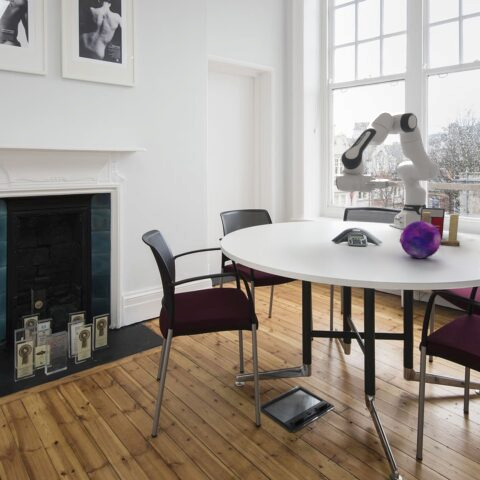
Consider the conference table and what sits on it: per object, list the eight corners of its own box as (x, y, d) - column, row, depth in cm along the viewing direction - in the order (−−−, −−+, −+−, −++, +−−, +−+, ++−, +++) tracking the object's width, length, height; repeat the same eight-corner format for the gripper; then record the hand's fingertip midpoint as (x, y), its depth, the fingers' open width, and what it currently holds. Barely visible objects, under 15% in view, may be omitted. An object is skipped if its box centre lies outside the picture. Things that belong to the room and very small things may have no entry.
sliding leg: (418, 239, 211) (420, 212, 209) (419, 237, 215) (421, 211, 213) (429, 240, 209) (432, 213, 207) (430, 238, 213) (432, 212, 211)
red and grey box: (419, 236, 230) (421, 208, 227) (419, 235, 233) (422, 207, 231) (442, 238, 225) (444, 209, 222) (442, 237, 228) (445, 208, 226)
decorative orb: (413, 262, 169) (416, 224, 166) (392, 255, 183) (394, 219, 181) (447, 261, 172) (450, 223, 170) (423, 253, 187) (426, 218, 184)
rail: (399, 242, 214) (399, 238, 213) (401, 240, 220) (401, 236, 220) (459, 246, 203) (459, 243, 203) (458, 243, 209) (459, 240, 209)
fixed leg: (446, 241, 206) (448, 214, 204) (446, 240, 210) (448, 213, 208) (458, 242, 204) (460, 215, 202) (458, 241, 208) (460, 214, 206)
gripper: (365, 177, 211) (395, 178, 205) (371, 176, 229) (399, 177, 224) (364, 191, 212) (394, 192, 207) (370, 188, 231) (398, 189, 225)
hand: (397, 184), depth 215 cm, fingers closed
